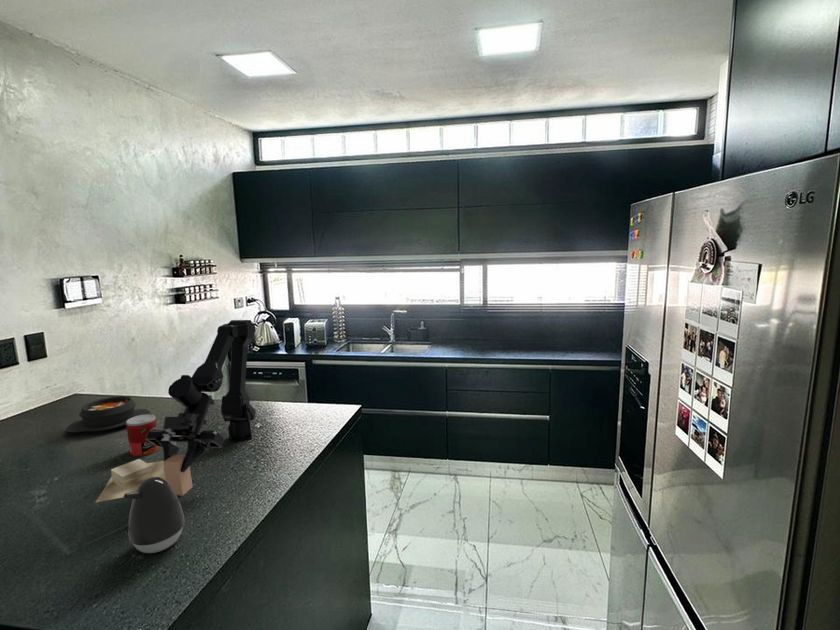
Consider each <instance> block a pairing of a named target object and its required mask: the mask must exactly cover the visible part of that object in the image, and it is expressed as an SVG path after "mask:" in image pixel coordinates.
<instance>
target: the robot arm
mask: <svg viewBox="0 0 840 630" xmlns="http://www.w3.org/2000/svg"><path fill="white" fill-rule="evenodd" d="M255 332H256V325H255V323H254V322H253V321H252V320H250V319H232V320H230V321H229V322H228V323H224V324H221V325H219V326H218V328H217V330H216V333H217V334H216V336H215V339H214V340H213V343H212V344H211V347H210V350H209V353H208V354H207V357H206V359H205V361H204V362H203V363H202V364H200V365H199V366H198V367H196V369H195V370H194V373H193V374H192V375H191V376H190V375H189V374H182V375H181V376H180V378H178V379H177V380H175V381H174V382H172V384H170V385H169V386H168V391H167V393H168V395H169V396H170V398H172V399H174V401H176V402H177V403H178V404H180V405H181V406H182V407H184V409H183V412H179V413H178V414H177V415H178V416H164V422H163V428H162V429H157V430H151V431H149V432H148V434H147V436H146V439H145V440H147V441H149V442H150V443H152V444H154V445H155V446H158V447H159V448H162V450H163V451H162V452H163V461H165V460H167V459H168V458H170V457H171V456H172V455H178V452H179V450H180V447H178V446H176V445H177V443H187V449H186V450H187V451H186V453H185V455H186V456H185V458H184V461H183V464H182V467H181V472H185V471H186V469H187V468H188V467H189V466H190V467H191V465H192V464H193V463H194V462H195V461H196V460H197V458H199V457H200V456H201V455H202V454H203V453H204V452H206V451H208V450H209V448H208V446H210V448H212V449H213V448H214V449H215V448H217V449H218V448H219V449H221V448H223V445H224V443H225V438H224V436H222V434H221V433H220V432H218V431H216V430H202V428H203V426H204V425H205V426H206V425H207V422H208V421H207V420H206V417H207V414H208V411H209V408H210V406H212V405H213V406H214V405H215V401H214V399H213V397H212V395H211V394H209V395H208V394H207V393H215V392H218V391H219V390H220V388H221V386H222V383H223V379H224V374H223V370H222V369H223V366H224V364H225V361H226V358H227V356H228V354H229V351H230V349H231V352H230V353H231V354H230V369H229V370H230V371H229V383H228V391H227V393H226V394H225V395H223V396H222V397H221V406H220V413H221V415H222V418H223V420H224V421H223V422H229V423H228V426H227V430H228V438H229V439H230V442H238V441H244V440H250V439H252V438H253V430H252V422H251V421H253V420H255V417H256V412H257V411H256V409H255V408H254V406H252V405H251V400H250V397H249V394H248V393H247V391H246V380H247V379H246V378H247V377H246V376H247V366H248V365H247V362H248V348H249V346H250V345H251V342H252V341H253V340H254V334H255ZM168 429H169V430H170V432H171V433H172V434H171V433H170V432H168V431H166V430H168ZM173 433H174V434H173Z"/></svg>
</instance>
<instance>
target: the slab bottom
mask: <svg viewBox="0 0 840 630" xmlns="http://www.w3.org/2000/svg"><path fill="white" fill-rule="evenodd" d="M111 477H112V480H113V482H114V483H115V484H117V485H118V486H120V487H121V488H123V489H127V488H129V487H132V486H134V485H136V484H139V483H141V482H143V481H145V480H146V479H148V478H151V477H152V472H150V473H147V474H145V475H142V476H140V477H137V478H135V479H132V480H130V481H127V482H125V483H122V482H121V481H119V480H118V479H116V478H115V477H113V476H112V475H111Z"/></svg>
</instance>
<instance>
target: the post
mask: <svg viewBox="0 0 840 630" xmlns="http://www.w3.org/2000/svg"><path fill="white" fill-rule="evenodd" d="M185 456H186V454H177V455H172V456H171V457H170V458H168V459H167V460H165V461H164V460H163V461H164V462H163V465H164V471H165V477H166V482H167V483H168V484H169V485H170V486H171V488H172V489H173V490H174V492H175V494H176V495H177V496H182V498H183V497H185V494H186V493H188V492H189V491H190V490H191V489H192V488H193V487H194V485H193V481H192V473H191V465H190V466H189V467H188V468H187V469H186V471H185V472H181V467H182V464H183V461H184V458H185Z"/></svg>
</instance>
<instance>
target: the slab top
mask: <svg viewBox="0 0 840 630" xmlns="http://www.w3.org/2000/svg"><path fill="white" fill-rule="evenodd" d="M148 463H149V462H146V461H144V460H142V459H140V458H137V459H135V460H133V461H130V462H126V463H125V464H122V465H119V466H115V467H114V468H111V469H110V472H111V477H112V476H113V477H115V478H116V479H118V480H119V481H121V482H122V483H125V482H127V481H130V480H132V479H135V478H137V477H140V476H142V475H145V474H147V473H150V472H152V469H151V465H149V464H148Z"/></svg>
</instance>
